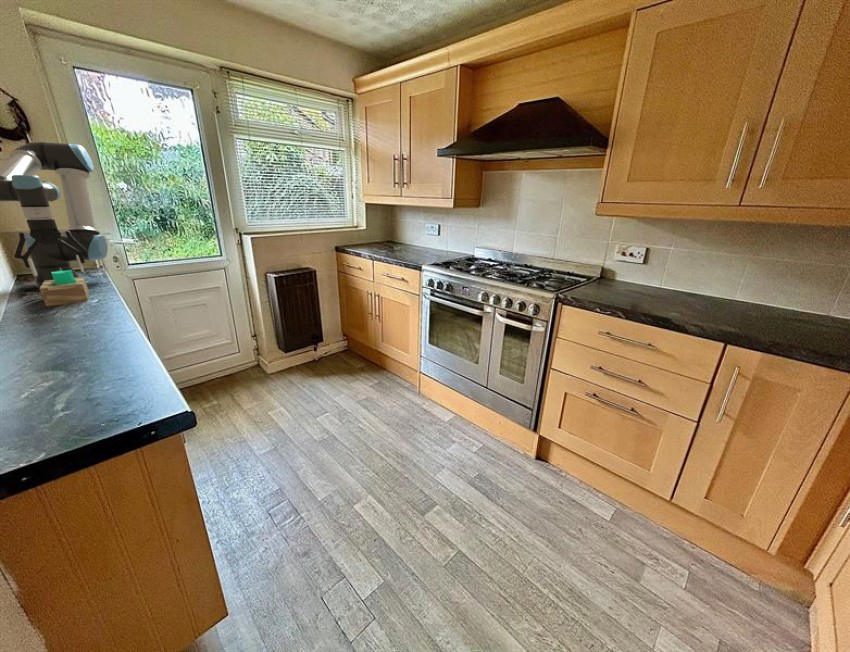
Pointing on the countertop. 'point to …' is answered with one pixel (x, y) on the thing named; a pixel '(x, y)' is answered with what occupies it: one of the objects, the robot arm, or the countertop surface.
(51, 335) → the countertop surface
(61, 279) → the candle
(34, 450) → the countertop surface
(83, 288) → the box
